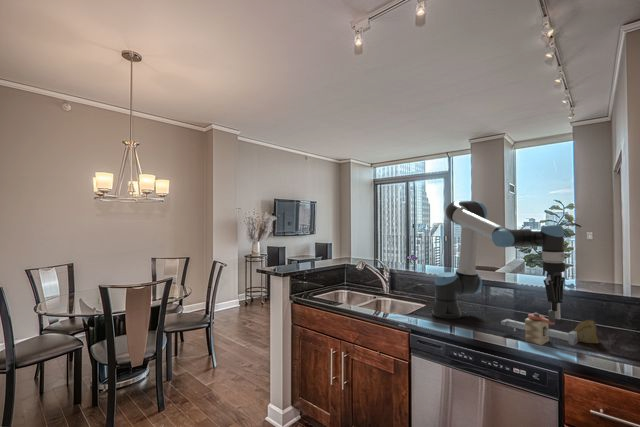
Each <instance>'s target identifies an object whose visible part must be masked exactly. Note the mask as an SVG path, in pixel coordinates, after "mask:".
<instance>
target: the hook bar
mask: <svg viewBox="0 0 640 427" xmlns="http://www.w3.org/2000/svg"><path fill="white" fill-rule="evenodd" d="M500 324H501V325H502V326H507V327H512V328H515V329H519V330H522V331H525V322H521V321H517V320H512V319H510V318H505V319H503V320H501V321H500ZM548 328H549V327H548ZM548 328H544V327H543V335H547V336H549V337H551V338H555V339H560V340H564V341H566V342H567V341H568V345H570V346H575V345H577V344H578V341H577V332H575V331H572V330H571V331H569V332H564V331H561V330H556V329H553V328H549V329H548Z"/></svg>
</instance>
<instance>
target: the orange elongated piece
mask: <svg viewBox="0 0 640 427" xmlns="http://www.w3.org/2000/svg"><path fill="white" fill-rule="evenodd" d="M547 314H548V318H546V316H545V315H543V314H540V313H538V312H533V313H528V315H527V316H528V317H527V318H530V319H533V320H540V321H543V322H545V323H548V325H553V326H554V325H556V324H555V323H556V319H555V311H554V310H551V309H548V312H547Z"/></svg>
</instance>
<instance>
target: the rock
mask: <svg viewBox="0 0 640 427" xmlns="http://www.w3.org/2000/svg"><path fill="white" fill-rule="evenodd" d="M571 331H575V332H577V343H578V342H579V343H587V344H588V343H589V344H599V343H600V337H599V333H598V332H599V331H597V326H596V322H595V320H591V319H586V320H582V321H579V322H578V324H577V325H576V327H574V329H572V330H571Z"/></svg>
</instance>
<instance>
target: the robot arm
mask: <svg viewBox="0 0 640 427" xmlns="http://www.w3.org/2000/svg"><path fill="white" fill-rule="evenodd" d="M445 215H446V218H447V219H448V220H449V221H450V222H452V223H453V224H456V225H459V226H460V228H461V231H460V243H459V244H460V246H459V260H458V261H459V264H458V267H457V268H456V269H455V272H451V271H449V272H448V271H445V272H440V273H437V274H436V275H435V276H434V303H433V307H432V310H431V311H432V312H431V313H432V315H433V317H437V318H441V319H446V320H447V319H448V320H455V319H460V318H462V311H461V308H460V306H459V303H458V297H459V296H473V295H476V294H478V293H480V291H481V290H482V287H483V280H482V278H481V276H480V275H479V272H478V271H477V269H476V263H477V251H478V250H477V249H478V236H479V234H480V235H482V236H483V237H486V238H488V239H489V240H491V241H492V243H493V244H494V245H495V246H496V247H499V248H510V247H515V248H516V247H538V248H539V247H540V248H541V254H542V256H541V259H542V270H543V271H545V272H546V279H543V283H544V285H545V286H544V287H545V293H546V297H547V302H548V303H550V305H551V306H550V307H551V308H550V310H554V311H555V320H561V318H562V317H561V304H563V300H564V299H563V298H564V287H565V279H566V278H565V276H562V273H565V272H566V263H565V261H566V258H565V257H566V254H565V248H564V247H565V244H564V243H565V241H564V240H565V234H564V230H563V229H564V228H563V226H562V225H560V224H544V225H541V227H540V229H536V228H535V229H533V228H532V229H531V228H522V229H520V228H519V229H510V228H507V227H505V226H503V225H500V224H498V223H497V222H493V221H491V220H489V219H487V217H488V211H487V207H486V205H485V204H484V203H483V202H480V201H477V200H455V201H452V202H450V203H448V205H447V206H446V209H445Z"/></svg>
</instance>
